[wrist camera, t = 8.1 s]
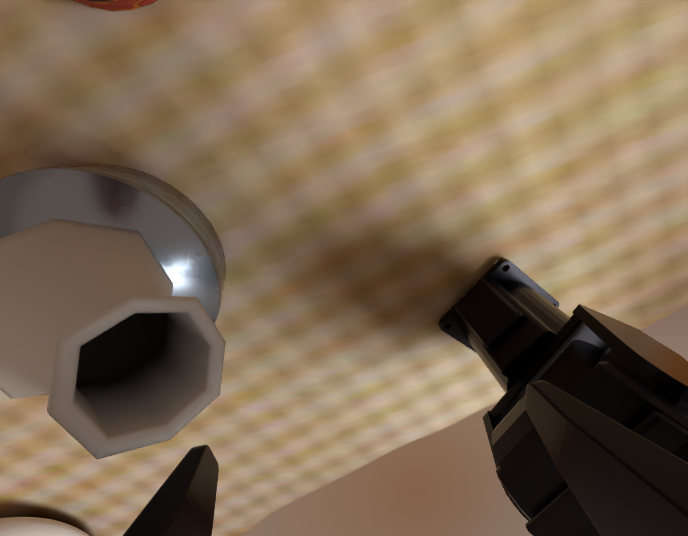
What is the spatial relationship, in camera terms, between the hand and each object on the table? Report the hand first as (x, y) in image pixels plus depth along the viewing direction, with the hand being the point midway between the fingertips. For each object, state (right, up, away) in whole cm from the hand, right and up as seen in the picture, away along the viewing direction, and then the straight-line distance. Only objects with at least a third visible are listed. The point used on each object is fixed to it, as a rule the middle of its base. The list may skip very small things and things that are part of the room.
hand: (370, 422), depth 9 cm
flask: (-12, +3, +5) cm, 13 cm away
